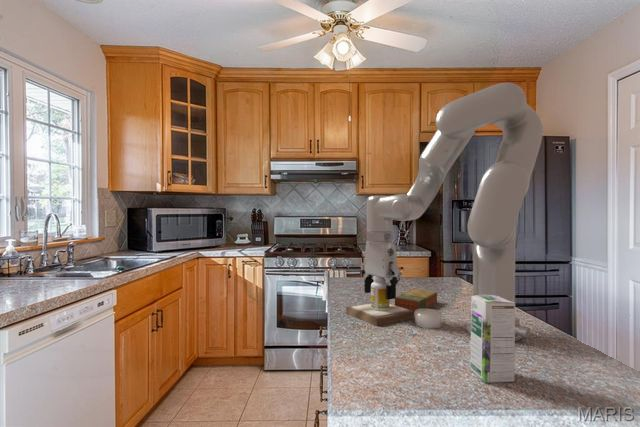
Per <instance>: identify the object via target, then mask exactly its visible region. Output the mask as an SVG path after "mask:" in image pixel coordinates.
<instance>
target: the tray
mask: <svg viewBox="0 0 640 427" xmlns="http://www.w3.org/2000/svg"><path fill="white" fill-rule="evenodd" d="M345 308H346V311H345V312H346V315H348V316H351V317H354V318H356V319H358V320H361V321H364V322H365V323H369V324H371V325H373V326H376V327H378V326H383V325H388V324H394V323H398V322H402V321H409V320H411V319H415V312H414V311H412V310H409V309H405V308H402V307H399V306H396V305H395V304H392V303H390V302H389V309H388V310H384V311H379V310H373V309H372V308H371V302H369V303H363V304H357V305H351V306H346V307H345Z"/></svg>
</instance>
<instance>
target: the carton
mask: <svg viewBox="0 0 640 427" xmlns="http://www.w3.org/2000/svg"><path fill="white" fill-rule="evenodd" d="M437 303H438V292H437V291H433V290H426V289H419V288H413V289H410V290H409V291H407V292H404V293H402V294H400V295H396V298H395V299H394V305H396V306H399V307H402V308H405V309H409V310H412V311H414V313H415V310H417V309H430V307H432V306H434V305H436V304H437Z"/></svg>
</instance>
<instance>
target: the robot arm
mask: <svg viewBox="0 0 640 427" xmlns="http://www.w3.org/2000/svg"><path fill="white" fill-rule="evenodd" d="M436 114H437V115H436V117H435V126H436V128H437V130H436V131H435V133H434V134H433V136H432V137H431V139H430V141H429V142H428V143H427V145H426V147H425V148H424V150H423V151H422V153H421V154H420V156H419V159H418V174H417V177H416V179H415V181H414V182H413V185H412V186H411V188H410V190H408V192H407V194H406V193H399V194H392V195H370V196H369V197H367V199H366V242H365V247H364V248H365V249H364V250H365V251H364V261H363V262H361V263H359V266H360V269H361V270H360V271H361V274H362V278H363V282H364V284H363V285H364V288H363V289H364V293H365V294H369V293H370V294H371V284H372V283H373V282H374V280H373V276H378V277H382V278H385V280H386V283H387V284H388V285H386V299H388V300H389V301H390V300H393V299H394V300H395V298H396V297H397V293H396V292H397V285H398V283H399V281H400V280H401V275H402V274H403V271H402V269H400V268H399V267H398V258H397V248H396V244H395V242H394V240H393V239H394V234H393V233H394V232H393V231H394V230H393V228H394V227H393V226H394V224H393V221H400V222H404V221H406V222H407V221H415V220H417V219H420V217H422V216H423V214H425V212H426V211H427V209H428V208H429V207H430V204H431V203H432V202H433V201H434V199H435V197H436V196H437V194H438V192H439V190H440V188H441V187H442V184H443V183H444V181H445V179H446V177H447V174H448V172H449V171H450V170H451V168H452V166H453V165H454V163H455V161H456V160H457V159H458V157H459V156H460V155H461V153H462V151H464V149H465V147H466V146H467V144H468V143H469V141H470V140H471V138H472V137H473V136H474V134H475V132H476V130H477V129H481V128H482V127H486V126H489V125H492V124H493V125H494V126H496V127H497V128H499V129H500V130H501V131H502V140H501V142H500V144H499V147H498V152H497V156H496V158H495V162H494V164H492V165H491V166H489V168H487V169H486V171H485V172H484V173H483V175H482V178H481V179H480V183H479V185H478V188H477V193H476V195H475V198H474V201H473V205H472V207H471V209H470V213H469V216H468V220H467V226H466V228H467V233H468V236H469V238H470V239H471V241H472V242H473V250H472V252H473V254H472V296H475V295H494V296H499V297H501V298H504V299H506V300H508V301H511V302H515V303H516V245H517V244H516V242H517V240H516V239H517V229H516V223H517V219H518V216H519V214H520V211H521V209H522V208H521V207H522V204H523V202H524V199H525V196H526V194H527V193H528V192H529V188H530V182H531V177H532V173H533V170H534V168H535V165H536V161H537V157H538V155H539V151H540V148H541V144H542V141H543V132H544V131H543V124H542V121H541V118H540V116H539V115H538V113H537V112H536V111H535V110H534V109H533V108H532V107H531V105H529V104H528V103H527V98H526V94H525V91H524V90H523V89H522V87H521V86H519V85H518V84H516V83H513V82H500V83H497V84H494V85H491V86H487V87H486V88H483V89H480V90H479V91H478V90H477V91H475V92H473V93H470V94H467V95H465V96H462V97H460V98H456V99H454V100H452V101H449V102H448V103H446V104H445V105H444V106H442V107H441V108H440V109H439V111H438V112H437V113H436ZM466 332H467V333H468V334H469V335H471V322H469V323H468V324H466ZM530 336H531V328H530V326H529V327H528V326H524V325H521V324H520V318H518V317H515V342H518V341H520V340H521V339H522V338H523V337H524V338H526V339H527V338H528V339H529V338H530Z"/></svg>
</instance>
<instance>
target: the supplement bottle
mask: <svg viewBox="0 0 640 427" xmlns="http://www.w3.org/2000/svg"><path fill="white" fill-rule="evenodd" d="M372 279H373V280H374V282H373V283H372V284H371V292H370V303H371V308H372V309H373V310H379V311H384V310H388V309H389V303H390V299H389V300H388V299H386V285H388V284H387V282H386V280H385V278H382V277H378V276H373V278H372Z"/></svg>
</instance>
